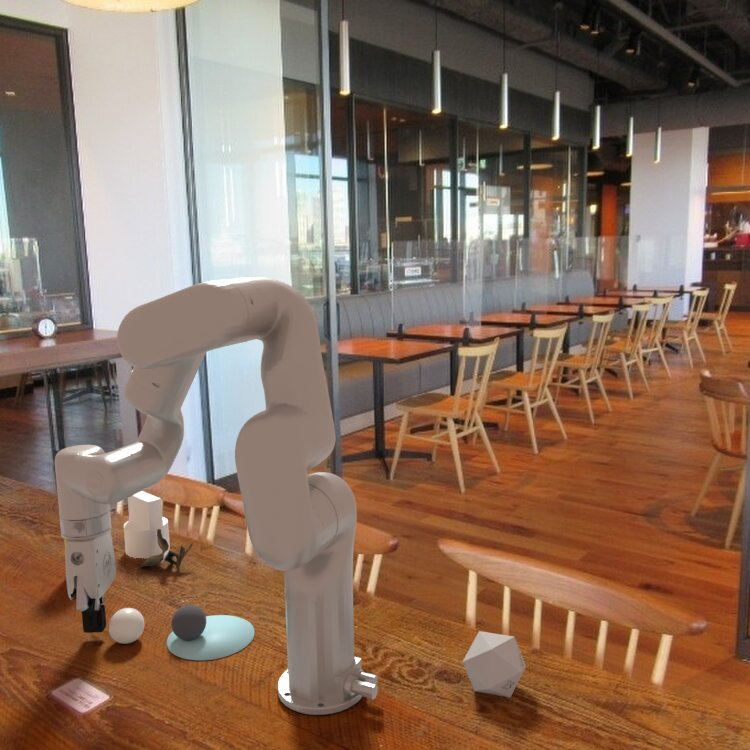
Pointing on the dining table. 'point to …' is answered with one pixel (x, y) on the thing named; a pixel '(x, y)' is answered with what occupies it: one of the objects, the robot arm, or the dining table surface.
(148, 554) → the base with upright slab
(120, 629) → the cue ball
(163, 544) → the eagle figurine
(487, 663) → the die
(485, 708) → the dining table surface
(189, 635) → the object ball
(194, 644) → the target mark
